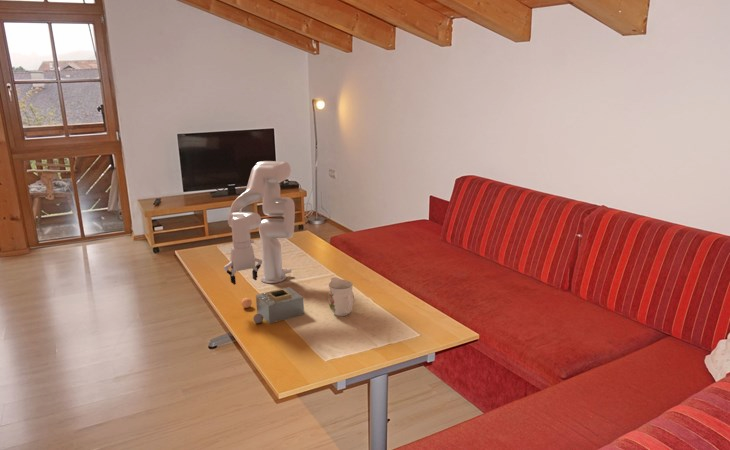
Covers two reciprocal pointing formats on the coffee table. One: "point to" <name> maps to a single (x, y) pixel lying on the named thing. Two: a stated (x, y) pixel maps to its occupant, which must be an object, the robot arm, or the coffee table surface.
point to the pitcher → (340, 296)
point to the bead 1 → (246, 302)
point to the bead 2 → (258, 318)
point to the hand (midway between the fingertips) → (244, 281)
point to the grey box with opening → (280, 304)
